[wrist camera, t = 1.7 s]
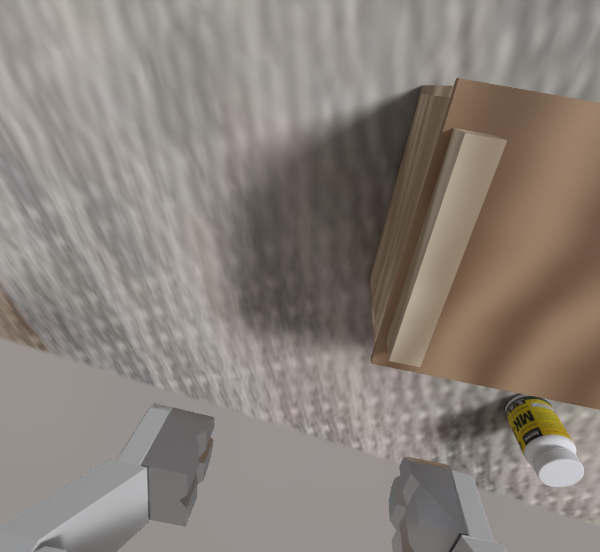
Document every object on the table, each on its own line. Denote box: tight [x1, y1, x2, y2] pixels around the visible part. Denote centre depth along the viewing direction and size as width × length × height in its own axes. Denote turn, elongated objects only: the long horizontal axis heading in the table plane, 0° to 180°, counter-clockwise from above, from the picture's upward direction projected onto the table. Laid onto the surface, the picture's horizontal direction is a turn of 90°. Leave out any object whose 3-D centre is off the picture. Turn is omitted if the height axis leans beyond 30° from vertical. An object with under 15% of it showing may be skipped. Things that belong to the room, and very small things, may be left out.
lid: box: [371, 78, 600, 410], centre depth 23 cm, size 19×19×3 cm
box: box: [369, 86, 454, 343], centre depth 30 cm, size 18×18×12 cm
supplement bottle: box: [505, 394, 584, 487], centre depth 40 cm, size 5×5×8 cm
